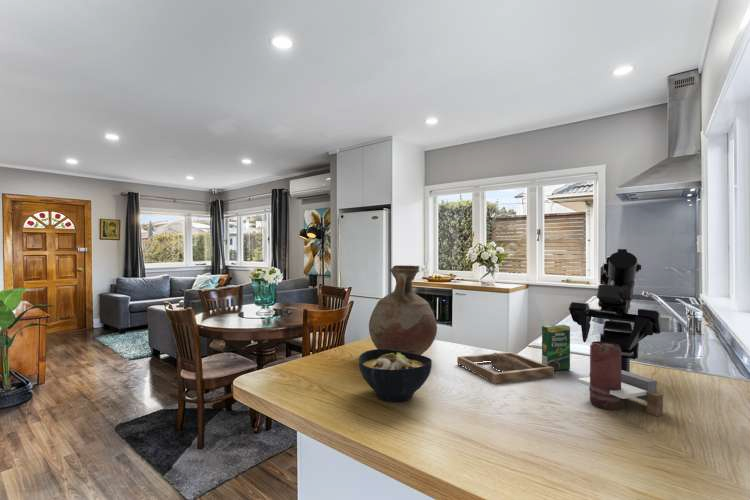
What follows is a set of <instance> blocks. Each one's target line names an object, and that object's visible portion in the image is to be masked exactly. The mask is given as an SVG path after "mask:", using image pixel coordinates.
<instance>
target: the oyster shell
mask: <svg viewBox="0 0 750 500" xmlns="http://www.w3.org/2000/svg"><path fill="white" fill-rule="evenodd" d="M499 353H500V352H492V353H490V354H491V355H490V358H491V363H490V364H491V366H493V367H494V368H495V369H497V370H500V371H503V372H506V371H514V370H523V369H532V367H531V366H530V365H527V364H525V363H523V362H521V361H519V360H518V359H516V358H514V357H511V355H508V356H507V355H504V354H499ZM495 369H494V370H495ZM497 370H496V371H497ZM500 371H499V372H500Z"/></svg>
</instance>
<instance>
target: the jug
mask: <svg viewBox="0 0 750 500" xmlns="http://www.w3.org/2000/svg"><path fill="white" fill-rule="evenodd" d="M389 272H391V274H392V277H394V279H395V287H394V290H393V291H392V292H391V293H389V294H387V295H385V296H384V297H382V298H380V299H379V300H378V301H377V303H376V304H375V307H374V309H373V311H372V313H371V315H370V317H369V321H368V332H369V336H370V339H371V341H372V343H373V345H374V346H375V348H376V349H389V350H396V351H401V352H407V353H412V354H417V355H422V356H423V354H424V353H425V352H427V351H428V350H429V349H430V347H431V346H432V345H433V343H434V341H435V339H436V337H437V331H438V324H437V320H436V316H435V313H434V312H433V310H432V307H431V305H430V304H429V302H428V301H427V300H426V299H425V298H423V297H421V296H420V295H418V294H417V293H416V292H415V291H414V289H413V285H412V284H413V279H414V278H415V277H416V275H417V274H418V273H419V272H420V266H419V265H411V264H409V265H406V264H405V265H402V264H401V265H400V264H399V265H393V266H392V268H389Z"/></svg>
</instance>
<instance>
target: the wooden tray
mask: <svg viewBox="0 0 750 500" xmlns="http://www.w3.org/2000/svg"><path fill="white" fill-rule="evenodd" d="M498 353H499V354H504V355H507V356H508V355H511V357H514V358H516V359H518V360H519V361H521V362H523V363H525V364H527V365H530V366H531V367H532V369H523V370H514V371H506V372H500V371H498V372H496V371H494V370H491V369H489V368H487V367H485V366H482V365H481V364H476V363H474V362H483V361H491V358H490V355H491V354H492V353H483V354H475V355H474V354H473V355H463V356H457V358H456V359H457V362H456V363H458V364H460V365H462V366H464V367H466V368H467V369H470V370H471V371H473V372H475V373H477V374H479V375H481V376H483V377H485V378H487V379H488V381H489V380H490V382H491V381H492V382H491V383H493V382H494V383H493V384H495V383H496V384H502V383H503V382H504V383H511V382H510V381H512V382H517V381H516V380H519V381H525V380H524V379H527V380H532V379H531V378H535V379H541V378H540V377H543V378H548V377H550V376H551V377H554V376H555V370H554V367H551V366H548V365H545V364H543V363H542V362H540V361H537V360H534V359H531V358H528V357H525V356H523V355H520V354H517V353H514V352H512V351H507V352H498ZM467 369H466V370H467ZM471 371H470V372H471ZM473 372H472V373H473ZM475 373H474V374H475ZM477 374H476V375H477ZM479 375H478V376H479ZM481 376H480V377H481ZM483 377H482V378H483ZM485 378H484V379H485ZM487 379H486V380H487Z"/></svg>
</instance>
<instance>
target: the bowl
mask: <svg viewBox="0 0 750 500" xmlns="http://www.w3.org/2000/svg"><path fill="white" fill-rule="evenodd" d="M432 363H433V360H432V359H431V358H430V357H427V356H426V355H423V354H422V355H417V354H412V353H407V352H401V351H396V350H389V349H377V348H376V349H370V350H367V351H363V352H362V353H361V354H360V355H359V357H358V366H359V367H358V368H359V370H360V372H361V376H362V377H363V379H364V380H365V382H366V383H367V385H368V386H369V387H370V388H371V389H372V390H373V391H374V393H375V395H376V397H377V398H378V399H379V400H382V401H384V402H390V403H402V402H407V401H409V400H411V399H412V398H413V396H414V394H415V393H416V392H417V391H419V389H420V388H421V387H422V386H423V385H424V384H425V383H426V382H427V379H428V378H429V376H430V374H431V372H432V371H431V370H432V367H433V366H432V365H433V364H432Z"/></svg>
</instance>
